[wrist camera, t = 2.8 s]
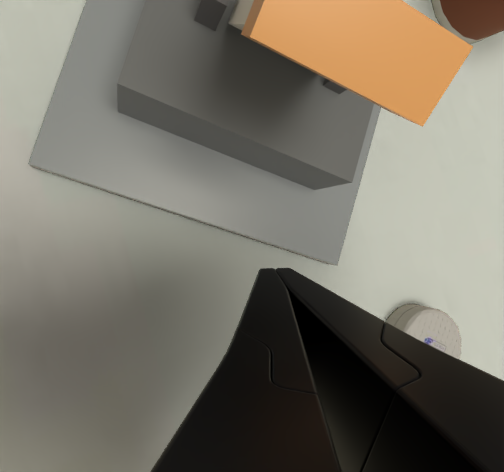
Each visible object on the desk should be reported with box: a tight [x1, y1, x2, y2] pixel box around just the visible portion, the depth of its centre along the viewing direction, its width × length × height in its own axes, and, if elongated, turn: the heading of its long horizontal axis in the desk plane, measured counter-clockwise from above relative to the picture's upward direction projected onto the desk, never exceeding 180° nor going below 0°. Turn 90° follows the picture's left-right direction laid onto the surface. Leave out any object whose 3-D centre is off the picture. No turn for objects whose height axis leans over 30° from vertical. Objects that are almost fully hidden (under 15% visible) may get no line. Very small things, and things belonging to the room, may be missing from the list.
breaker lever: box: [228, 0, 473, 126], centre depth 13 cm, size 2×5×9 cm, turn 72°
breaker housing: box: [28, 0, 381, 265], centre depth 19 cm, size 18×18×7 cm
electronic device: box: [385, 304, 461, 359], centre depth 22 cm, size 5×10×15 cm
